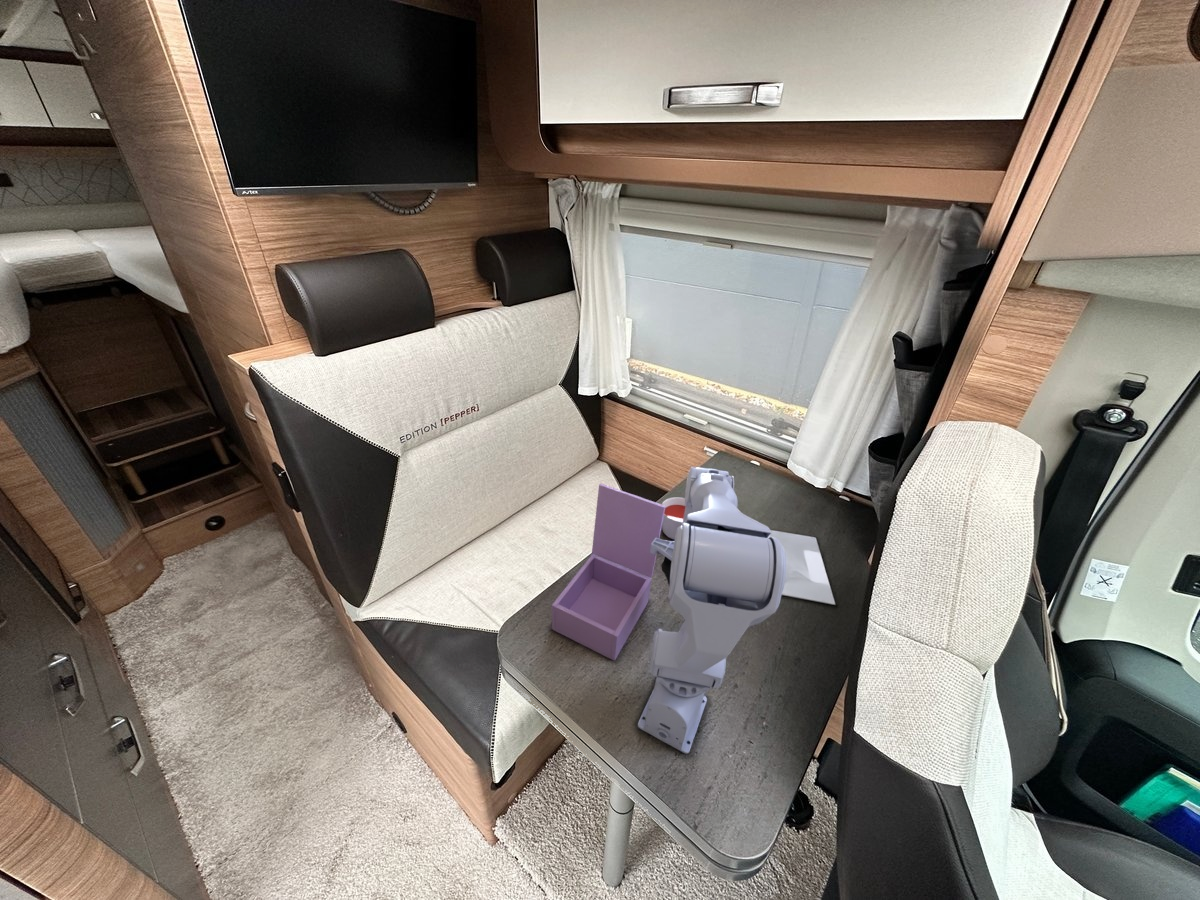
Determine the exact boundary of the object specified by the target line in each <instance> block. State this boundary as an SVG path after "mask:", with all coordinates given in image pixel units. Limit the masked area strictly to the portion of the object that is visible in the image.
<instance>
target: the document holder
mask: <svg viewBox="0 0 1200 900" xmlns="http://www.w3.org/2000/svg"><path fill="white" fill-rule="evenodd" d="M770 531H771V534H770V535H769V536H768V538H770V537H775V538H778V539H779V541H780V543H781V544H782V546H783V547H784V549H785V554H786V578H785V584H784V589H783V592H782V595H781V596H785V597H790V598H795V599H800V600H806V601H811V602H816V603H821V604H822V603H823V604H828V605H832V606H833V605H834V606H836V602H835V598H834V594H833V592H832V588H831V585H830V581H829V578H828V574H827V572H826V568H825V564H824V561H823V558H822V554H821V550H820V547H819V544H818V541H817V538H816V537H814V536H809V535H803V534H798V533H797V534H796V533H790V532H786V531H785V532H784V531H779V530H772V529H770Z"/></svg>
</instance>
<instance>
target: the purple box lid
mask: <svg viewBox="0 0 1200 900" xmlns="http://www.w3.org/2000/svg"><path fill="white" fill-rule="evenodd" d="M661 504H662V503H658V502H655V501H652V500H651V499H650V500H649V499H646V498H644V497H641V496H638V495H635V494H632V493H629V492H628V491H627V492H626V491H624V490H621V489H618V488H615V487H612V486H610V485H606V484H603V483H599V484H598V491H597V501H596V511H595V519H594V527H593V528H594V529H593V538H592V549H591V554H594V555H596V556H599V557H601V558H603V559H606V560H608V561H611V562H613V563H615V564H618V565H620V566H623V567H625V568H627V569H630V570H632V571H635V572H637V573H639V574H642V575H644V576H647V577H649V578H651V579H652V577H653V576H654V571H655V565H656V561H657V560H656V559H657V554H658V553H657V554H652V553H650V548H651V543H652V542H653V540H654V539H655V538H658V539H661V533H662V523H663V517H664V512H665V506H664V505H661Z"/></svg>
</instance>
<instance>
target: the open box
mask: <svg viewBox="0 0 1200 900" xmlns="http://www.w3.org/2000/svg"><path fill="white" fill-rule="evenodd" d="M652 580H653V579H652V578H651V577H648V576H646V575H643V574H641V573H639V572H636V571H634V570H631V569H629V568H627V567H624V566H622V565H619V564H617V563H614V562H612V561H610V560H607V559H605V558H602V557H600V556H598V555H595V554H593V553H591V555H590V556H589V557H588V559H587V560H586V561H585V562H584V564H583V565H582V566H581V568H580V569H579V570H578V571H577V573H576V574H575V575H574V577H573V578H571V580H570V581H569V583H568V584H567V585H566V587H564V589H563V590H562V592H561V593H560V594H559V595H558V596H557V598H556V599H555V600H554V601H553V603H552V604H551V630H553V631H554V632H556V633H558V634H560V635H562V636H564V637H566V638H568V639H570V640H572V641H575V642H576V643H578V644H579V645H582V646H584V647H586V648H588V649H590V650H591V651H594V652H596V653H598V654H600V655H602V656H604V657H606V658H608V659H610V660H612V661H614V662H615V661H616V659H617V658H618V656H619V654H620V652H621V651H622V649H623V647H624V645H625V643H626V642H627V640H628V638H629V636H630V635H631V633H632V631H633V630H634V628H635V626H636V624H637V623H638V621H639V619H640V617H641V616H642V614H643V613H644V610H645V608H646V606H647V605H648V603H649V600H650V599H649V598H650V591H651V586H652Z"/></svg>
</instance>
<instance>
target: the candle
mask: <svg viewBox="0 0 1200 900" xmlns="http://www.w3.org/2000/svg"><path fill="white" fill-rule="evenodd" d="M660 504H661V505H664V506H665V512H664V517H663V523H662V528H661V530H662V532H663V533H664V535H665V536H666V537H668V538H669V539H672V540H673V541H675V535H676V531H677V528H678V527H679V526H681V525H682V523H683V518H684V513H685V507H686V504H685V497H668V498H667V499H665V500H664V501H662V503H660Z"/></svg>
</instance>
